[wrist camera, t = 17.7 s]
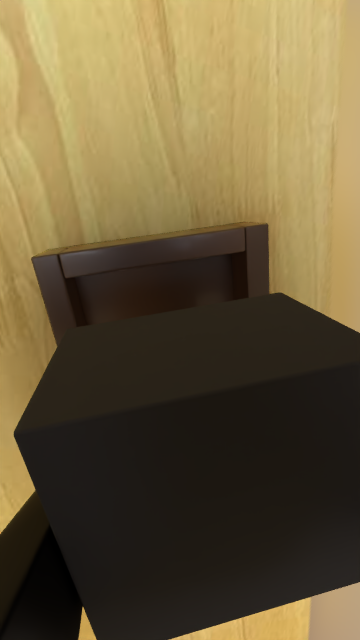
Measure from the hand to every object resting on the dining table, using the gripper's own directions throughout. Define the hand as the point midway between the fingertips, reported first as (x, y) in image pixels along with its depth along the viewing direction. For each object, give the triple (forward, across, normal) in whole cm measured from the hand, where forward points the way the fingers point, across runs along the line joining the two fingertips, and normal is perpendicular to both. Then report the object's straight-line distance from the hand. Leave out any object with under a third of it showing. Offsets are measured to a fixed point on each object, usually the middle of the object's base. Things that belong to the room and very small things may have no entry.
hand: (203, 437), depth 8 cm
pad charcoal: (+2, 0, 0) cm, 2 cm away
